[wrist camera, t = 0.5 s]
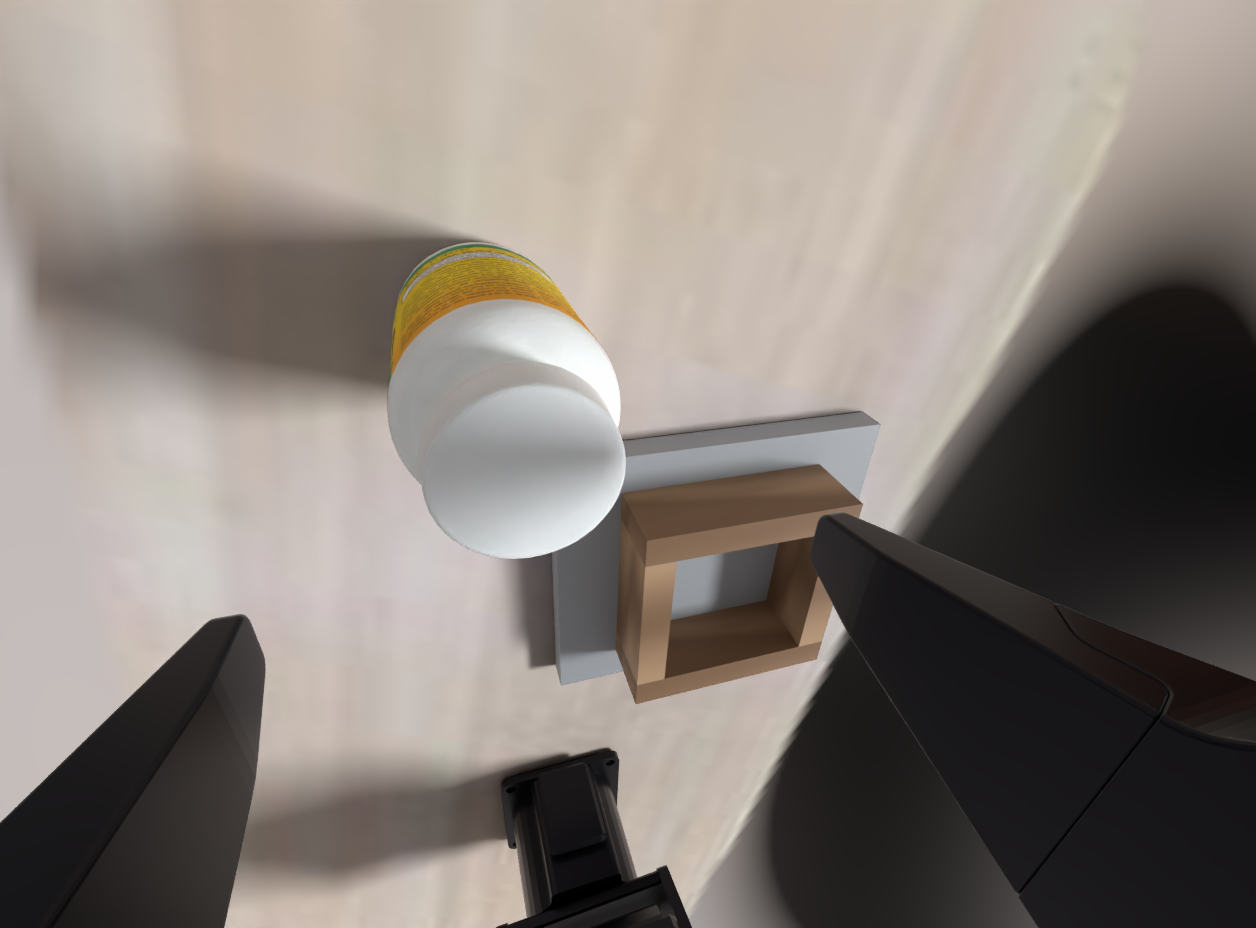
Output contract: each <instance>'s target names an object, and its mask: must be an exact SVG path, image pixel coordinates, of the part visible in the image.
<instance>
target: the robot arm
mask: <svg viewBox="0 0 1256 928" xmlns="http://www.w3.org/2000/svg"><path fill="white" fill-rule="evenodd" d="M810 557H811V561H812V564H813V567H814V569H815V571H816V573H817V574H818V576H819V578H820V580H821V582H822V584H823V586H824V588H825V590H826V592H827V594H828V596H829V598H830V600H831V602H832V604H833V606H834V607H835V609H836V611H837V613H838V615H839V617H840V619H841V621H842V623H843V625H844V627H845V629H846V630H847V632H848V634H849V636H850V637H851V639H852V641H853V642H854V644H855V646H856V647H857V649H858V650H859V652H860V653H861V655H862V656H863V658H864V659H865V661H866V662H867V664H868V666H869V667H870V669H871V670H872V672H873V673H874V675H875V677H876V678H877V679H878V681H879V683H880V684H881V686H882V687H883V689H884V690H885V692H886V693H887V695H888V696H889V698H890V700H891V701H892V703H893V704H894V706H895V707H896V709H897V710H898V712H899V713H900V715H901V716H902V718H903V719H904V721H905V723H906V724H907V726H908V727H909V729H910V730H911V731H912V733H913V735H914V736H915V738H916V740H917V741H918V743H919V744H920V746H921V747H922V749H923V750H924V752H925V753H926V755H927V757H928V758H929V759H930V761H931V763H932V764H933V766H934V767H935V769H936V770H937V772H938V773H939V775H940V777H941V778H942V780H943V781H944V783H945V784H946V786H947V787H948V789H949V790H950V792H951V793H952V795H953V796H954V798H955V800H956V801H957V802H958V804H959V806H960V807H961V809H962V810H963V812H964V813H965V815H966V816H967V818H968V820H969V821H970V823H971V824H972V826H973V827H974V829H975V830H976V832H977V833H978V835H979V837H980V838H981V840H982V841H983V843H984V844H985V846H986V847H987V849H988V850H989V852H990V853H991V855H992V856H993V858H994V860H995V861H996V863H997V864H998V866H999V867H1000V869H1001V870H1002V872H1003V873H1004V875H1005V877H1006V878H1007V880H1008V881H1009V883H1010V884H1011V886H1012V887H1013V889H1014V890H1015V892H1016V893H1019V894H1018V897H1019V899H1020V900H1021V902H1022V903H1023V905H1024V906H1025V908H1026V909H1027V911H1028V912H1029V914H1030V915H1031V917H1032V918H1033V920H1034V922H1035V923H1036V925H1037V926H1038V928H1256V681H1254V680H1251V679H1249V678H1246V677H1244V676H1241V675H1238V674H1235V673H1233V672H1230V671H1227V670H1225V669H1222V668H1219V667H1217V666H1214V665H1211V664H1209V663H1206V662H1203V661H1200V660H1198V659H1195V658H1193V657H1190V656H1187V655H1184V654H1182V653H1179V652H1176V651H1174V650H1171V649H1169V648H1166V647H1163V646H1161V645H1158V644H1155V643H1153V642H1150V641H1148V640H1145V639H1142V638H1140V637H1137V636H1135V635H1132V634H1129V633H1127V632H1124V631H1122V630H1119V629H1117V628H1114V627H1112V626H1109V625H1107V624H1105V623H1102V622H1099V621H1097V620H1095V619H1092V618H1090V617H1088V616H1085V615H1083V614H1080V613H1078V612H1076V611H1073V610H1071V609H1069V608H1067V607H1064V606H1062V605H1060V604H1053V602H1052V601H1050V600H1048V599H1045V598H1043V597H1041V596H1038V595H1036V594H1034V593H1031V592H1029V591H1027V590H1024V589H1022V588H1019V587H1017V586H1015V585H1013V584H1010V583H1008V582H1006V581H1003V580H1001V579H999V578H996V577H994V576H992V575H989V574H987V573H985V572H982V571H980V570H977V569H975V568H973V567H971V566H968V565H966V564H964V563H961V562H959V561H957V560H954V559H952V558H950V557H947V556H945V555H943V554H940V553H938V552H936V551H933V550H931V549H929V548H926V547H924V546H922V545H919V544H917V543H915V542H912V541H910V540H908V539H905V538H903V537H901V536H898V535H896V534H894V533H891V532H889V531H887V530H884V529H882V528H880V527H877V526H875V525H873V524H870V523H868V522H866V521H864V520H861V519H859V518H857V517H854V516H852V515H850V514H847V513H844V512H837V513H831V514H826V515H823V516H821V517H820V519H819V520H818V523H817V527H816V531H815V534H814V538H813V542H812V546H811V551H810ZM265 670H266V669H265V658H264V654H263V652H262V649H261V647H260V644H259V642H258V639H257V637H256V634H255V632H254V629H253V627H252V624H251V622H250V620H249V619H248V617H247V616H245V615H242V614H238V615H232V616H226V617H220V618H215V619H212V620H210V621H208V622H207V623H206V624H205V625H204V626H203V627H202V628H200V629H199V630H198V631H197V632H196V633H195V634H194V635H193V636H192V637H191V638H190V639H189V640H188V641H187V642H186V643H185V644H184V645H183V646H182V647H181V648H180V649H179V650H178V651H177V652H176V653H175V654H174V655H173V656H172V657H171V658H170V659H169V660H167V661H166V662H165V663H164V664H163V665H162V666H161V667H160V668H159V669H158V670H157V671H156V672H155V673H154V674H153V675H152V676H151V677H150V678H149V679H148V680H147V681H146V682H145V683H144V684H143V685H142V686H141V687H140V688H139V689H138V690H137V691H135V692H134V693H133V694H132V695H131V696H130V697H129V698H128V699H127V700H126V701H125V702H124V703H123V704H122V705H121V706H120V707H119V708H118V709H117V710H116V711H115V712H114V713H113V714H112V715H111V716H110V717H109V718H108V719H107V720H106V721H105V722H104V723H103V724H102V725H100V726H99V727H98V728H97V729H96V730H95V731H94V732H93V733H92V734H91V735H90V736H89V737H88V738H87V739H86V740H85V741H84V742H83V743H82V744H81V745H80V746H79V747H78V748H77V749H76V750H75V751H74V752H73V753H72V754H71V755H69V756H68V757H67V759H65V760H64V761H63V762H62V763H61V764H60V765H59V766H58V767H57V768H56V769H55V770H54V771H53V772H52V773H51V774H50V775H49V776H48V777H47V778H46V779H45V780H44V781H43V782H42V783H41V784H40V785H39V786H38V787H36V789H34V791H32V792H31V793H30V794H29V795H28V796H27V797H26V798H25V799H24V800H23V801H22V802H21V803H20V804H19V805H18V806H17V807H16V808H15V809H14V810H13V811H12V812H11V813H10V814H9V815H8V816H7V817H6V818H5V819H3V820H2V821H1V822H0V928H224V926H225V921H226V917H227V912H228V907H229V903H230V898H231V893H232V889H233V884H234V879H235V875H236V870H237V865H238V861H239V856H240V851H241V847H242V842H243V837H244V833H245V828H246V823H247V819H248V814H249V809H250V805H251V800H252V795H253V790H254V784H255V779H256V771H257V762H258V751H259V740H260V728H261V717H262V705H263V694H264V683H265ZM618 771H619V759H618V756H617V752H615V751H607V752H603V753H600V754H596V755H592V756H588V757H585V758H581V759H577V760H573V761H570V762H566V763H562V764H558V765H555V766H551V767H547V768H543V769H540V770H536V771H532V772H529V773H525V774H521V775H517V776H514V777H510V778H507V779H505V780H504V781H502V783H501V792H502V800H503V808H504V816H505V823H506V831H507V839H508V846H509V848H511V849H515V848H517V853H518V860H519V867H520V874H521V881H522V887H523V894H524V901H525V908H526V915H527V918H526V919H523V920H520V921H517V922H515V923H512V924H509V925H508V923H506V924H503V925H500V926H497V927H496V928H692V927H691V924H690V922H689V919H688V917H687V914H686V912H685V909H684V907H683V904H682V902H681V899H680V897H679V894H678V892H677V890H676V887H675V885H674V882H673V880H672V877H671V875H670V872H669V870H668V867H667V865H665V866H662V867H659V868H657V869H656V871H655V872H652V873H649V874H646V875H644V876H641V877H638V878H637V875H636V871H635V868H634V864H633V861H632V857H631V854H630V851H629V847H628V844H627V840H626V837H625V833H624V830H623V827H622V823H621V820H620V816H619V813H618V810H617V791H618Z"/></svg>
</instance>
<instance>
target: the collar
mask: <svg viewBox="0 0 1256 928" xmlns="http://www.w3.org/2000/svg"><path fill="white" fill-rule="evenodd" d="M862 506H863V504H862V503H861V502H860V501H859V500H858V499H857V498H856V497H855V496H854V495H853V494H852V493H850V492H849V491H848V490H847V489H846V488H845V487H844V486H843V485H842V484H841V483H840V482H838V481H837V480H836V479H835V478H834V477H833V476H832V475H831V474H830V473H829V472H828V471H827V470H825V469H824V468H823V467H822V466H821V465H820V464H818V465H811V466H804V467H797V468H790V469H783V470H777V471H770V472H763V473H756V474H749V475H742V476H735V477H729V478H722V479H715V480H708V481H701V482H694V483H687V484H681V485H674V486H667V487H660V488H653V489H646V490H639V491H633V492H626V493H622V504H621V529H620V554H619V580H618V605H617V630H616V652H617V655H618V658H619V660H620V663H621V666H622V668H623V671H624V674H625V676H626V679H627V682H628V684H629V687H630V690H631V693H632V695H633V698H634V701H635V703H636V704H638V703H642V702H646V701H650V700H654V699H658V698H662V697H666V696H670V695H675V694H679V693H683V692H687V691H691V690H695V689H699V688H703V687H707V686H711V685H715V684H719V683H723V682H727V681H731V680H735V679H739V678H743V677H747V676H751V675H755V674H759V673H763V672H767V671H771V670H775V669H779V668H783V667H787V666H791V665H795V664H800V663H804V662H808V661H812V660H816V659H817V656H818V653H819V650H820V646H821V643H822V640H823V636H824V633H825V630H826V626H827V623H828V620H829V616H830V613H831V610H832V606H833V604H832V602H831V600H830V598H829V596H828V594H827V592H826V590H825V588H824V586H823V584H822V582H821V580H820V578H819V576H818V574H817V573H816V571H815V569H814V567H813V564H812V561H811V557H810V551H811V546H812V542H813V538H814V534H815V531H816V527H817V523H818V520H819V519H820V517H821V516H823V515H826V514H831V513H837V512H844V513H847V514H850V515H852V516H854V517H857V518H859V516H860V512H861V509H862ZM775 543H779V544H778V548H777V553H776V557H775V562H774V567H773V571H772V576H771V580H770V585H769V590H768V594H767V599H766V600H765V601H760V602H755V603H750V604H746V605H741V606H736V607H731V608H727V609H722V610H717V611H712V612H708V613H703V614H698V615H694V616H689V617H684V618H679V619H675V620H671V611H672V602H673V592H674V583H675V573H676V564H677V561H682V560H688V559H693V558H699V557H704V556H709V555H715V554H720V553H726V552H731V551H737V550H742V549H748V548H753V547H759V546H764V545H769V544H775Z"/></svg>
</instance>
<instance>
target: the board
mask: <svg viewBox="0 0 1256 928" xmlns="http://www.w3.org/2000/svg"><path fill="white" fill-rule="evenodd" d="M880 425H881V424H879V423H878V422H877V421H875V420H874V419H873V418H871V417H870V416H868V415H867V414H866V413H864V412H858V413H849V414H841V415H833V416H825V417H816V418H808V419H800V420H792V421H783V422H775V423H767V424H759V425H750V426H742V427H734V428H726V429H717V430H709V431H701V432H693V433H684V434H676V435H668V436H660V437H651V438H643V439H635V440H627V441H623V444H624V448H625V456H626V468H625V477H624V481H623V485H622V488H621V490H620V493H619V496H618V498H617V500H616V502H615V503H614V505H613V507H612V508H611V510H610V511H609V512H608V514H607V515H606V516H605V517H604V518H603V520H602V521H601V522H600V523H599V524H598V525H597V526H596V527H595V528H594V529H593V530H592V531H590V532H589V533H588V534H586V535H585V536H584V537H582V538H581V539H579V540H578V541H576V542H574V543H573V544H571V545H569V546H566V547H564V548H562V549H559V550H557V551H554V552H552V575H553V601H554V628H555V655H556V668H557V672H558V676H559V679H560V683H561V685H566V684H570V683H574V682H579V681H583V680H587V679H592V678H596V677H600V676H605V675H609V674H613V673H618V672H622V671H623V668H622V666H621V663H620V660H619V658H618V655H617V652H616V630H617V605H618V580H619V554H620V529H621V504H622V493H626V492H633V491H639V490H646V489H653V488H660V487H667V486H674V485H681V484H687V483H694V482H701V481H708V480H715V479H722V478H729V477H735V476H742V475H749V474H756V473H763V472H770V471H777V470H783V469H790V468H797V467H804V466H811V465H818V464H820V465H821V466H822V467H823V468H824V469H825V470H827V471H828V472H829V473H830V474H831V475H832V476H833V477H834V478H835V479H836V480H837V481H838V482H840V483H841V484H842V485H843V486H844V487H845V488H846V489H847V490H848V491H849V492H850V493H852V494H853V495H854V496H855V497H856V498H857V499H858V500H859V497H860V493H861V490H862V486H863V483H864V480H865V476H866V473H867V469H868V466H869V462H870V459H871V456H872V452H873V449H874V445H875V442H876V438H877V435H878V432H879V428H880ZM778 544H779V543H775V544H769V545H764V546H759V547H753V548H748V549H742V550H737V551H731V552H726V553H720V554H715V555H709V556H704V557H699V558H693V559H688V560H682V561H677V564H676V573H675V583H674V592H673V602H672V611H671V620H675V619H679V618H684V617H689V616H694V615H698V614H703V613H708V612H712V611H717V610H722V609H727V608H731V607H736V606H741V605H746V604H750V603H755V602H760V601H765V600H766V599H767V594H768V590H769V585H770V580H771V576H772V571H773V567H774V562H775V557H776V553H777V548H778Z"/></svg>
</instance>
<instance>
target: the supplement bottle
mask: <svg viewBox="0 0 1256 928" xmlns="http://www.w3.org/2000/svg"><path fill="white" fill-rule="evenodd" d="M387 411H388V422H389V429H390V433H391V437H392V440H393V443H394V445H395V448H396V450H397V453H398V455H399V457H400V458H401V460H402V462H403V463H404V465H405V466H406V468H407V469H408V471H409V472H410V473H411V474H412V476H413V477H414V478H415V479H416V480H417V481H418V482H419V483H420V484H421V485H422V490H423V494H424V498H425V501H426V504H427V507H428V509H429V512H430V514H431V516H432V517H433V519H434V520H435V522H436V523H437V524H438V526H439V527H440V528H441V529H442V530H443V531H444V532H445V533H446V534H447V535H448V536H449V537H450V538H452V539H453V540H454V541H456V542H457V543H459V544H460V545H462V546H464V547H465V548H467V549H470V550H472V551H475V552H477V553H481V554H484V555H488V556H492V557H496V558H506V559H518V558H531V557H535V556H541V555H544V554H548V553H551V552H554V551H557V550H559V549H562V548H564V547H566V546H569V545H571V544H573V543H574V542H576V541H578V540H579V539H581V538H582V537H584V536H585V535H586V534H588V533H589V532H590V531H592V530H593V529H594V528H595V527H596V526H597V525H598V524H599V523H600V522H601V521H602V520H603V518H604V517H605V516H606V515H607V514H608V512H609V511H610V510H611V508H612V507H613V505H614V503H615V502H616V500H617V498H618V496H619V493H620V490H621V488H622V485H623V481H624V477H625V468H626V456H625V448H624V444H623V440H622V437H621V434H620V432H619V430H618V425H619V419H620V392H619V386H618V382H617V378H616V375H615V372H614V369H613V367H612V364H611V362H610V360H609V358H608V357H607V355H606V353H605V351H604V350H603V348H602V347H601V345H600V344H599V342H598V341H597V340H596V338H595V337H594V336H593V334H592V333H591V332H590V331H589V329H588V328H587V327H586V326H585V324H584V323H583V322H582V320H581V319H580V318H579V316H578V315H577V314H576V312H575V311H574V310H573V308H572V307H571V305H570V304H569V303H568V301H567V300H566V299H565V297H564V296H563V295H562V293H561V292H560V291H559V289H558V288H557V286H556V285H555V284H554V282H553V281H552V280H551V278H550V277H549V276H548V275H547V274H546V273H545V272H544V271H543V270H542V269H541V268H540V267H539V266H538V265H537V264H536V263H534V262H533V261H532V260H530V259H529V258H527V257H526V256H524V255H522V254H520V253H518V252H516V251H514V250H512V249H509V248H506V247H503V246H500V245H496V244H492V243H484V242H469V243H461V244H456V245H453V246H449V247H446V248H444V249H441V250H439V251H437V252H435V253H433V254H432V255H430V256H428V257H427V258H426V259H424V260H423V261H422V262H421V263H419V264H418V265H417V266H416V268H415V269H414V270H413V271H412V272H411V274H410V275H409V277H408V278H407V280H406V281H405V283H404V285H403V287H402V289H401V291H400V294H399V297H398V300H397V304H396V308H395V313H394V319H393V334H392V346H391V360H390V375H389V385H388V399H387Z"/></svg>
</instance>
